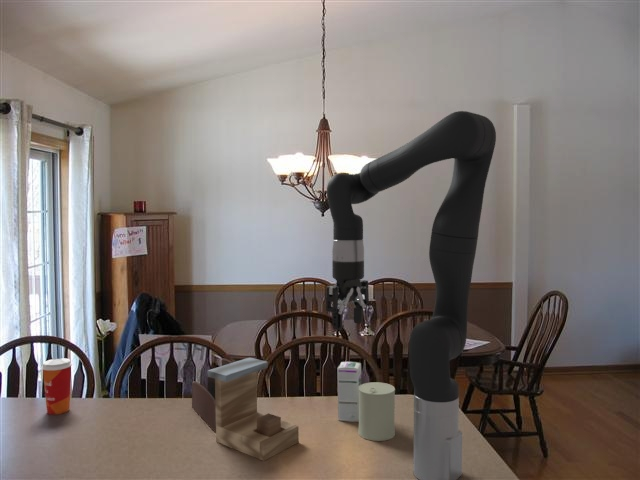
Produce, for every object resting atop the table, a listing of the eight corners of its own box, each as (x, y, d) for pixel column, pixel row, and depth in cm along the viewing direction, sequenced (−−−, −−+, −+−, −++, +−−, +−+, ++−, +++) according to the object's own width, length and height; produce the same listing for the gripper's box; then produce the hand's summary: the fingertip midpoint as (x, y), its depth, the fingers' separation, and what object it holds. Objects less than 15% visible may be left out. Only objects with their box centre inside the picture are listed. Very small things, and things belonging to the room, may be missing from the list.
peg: (280, 446, 127) (280, 417, 127) (269, 452, 124) (269, 422, 124) (268, 441, 130) (268, 413, 129) (256, 447, 127) (256, 418, 126)
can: (352, 436, 133) (352, 388, 132) (366, 423, 141) (366, 378, 140) (387, 444, 128) (387, 394, 127) (400, 429, 136) (400, 383, 136)
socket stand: (301, 440, 130) (300, 369, 129) (260, 462, 119) (259, 385, 118) (250, 422, 141) (249, 357, 140) (208, 441, 130) (207, 370, 129)
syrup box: (359, 422, 141) (359, 368, 140) (337, 420, 142) (337, 367, 141) (362, 414, 147) (362, 362, 146) (340, 412, 148) (340, 360, 147)
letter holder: (225, 401, 157) (224, 354, 156) (251, 425, 140) (250, 372, 139) (191, 408, 152) (190, 359, 151) (214, 433, 135) (213, 378, 134)
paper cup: (43, 408, 152) (41, 359, 151) (73, 404, 155) (71, 356, 154) (42, 418, 145) (40, 367, 144) (73, 413, 148) (71, 363, 147)
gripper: (343, 262, 119) (343, 334, 120) (377, 257, 130) (377, 323, 132) (317, 260, 124) (317, 329, 125) (352, 255, 135) (352, 319, 136)
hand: (348, 326), depth 128 cm, fingers open, 8 cm apart
